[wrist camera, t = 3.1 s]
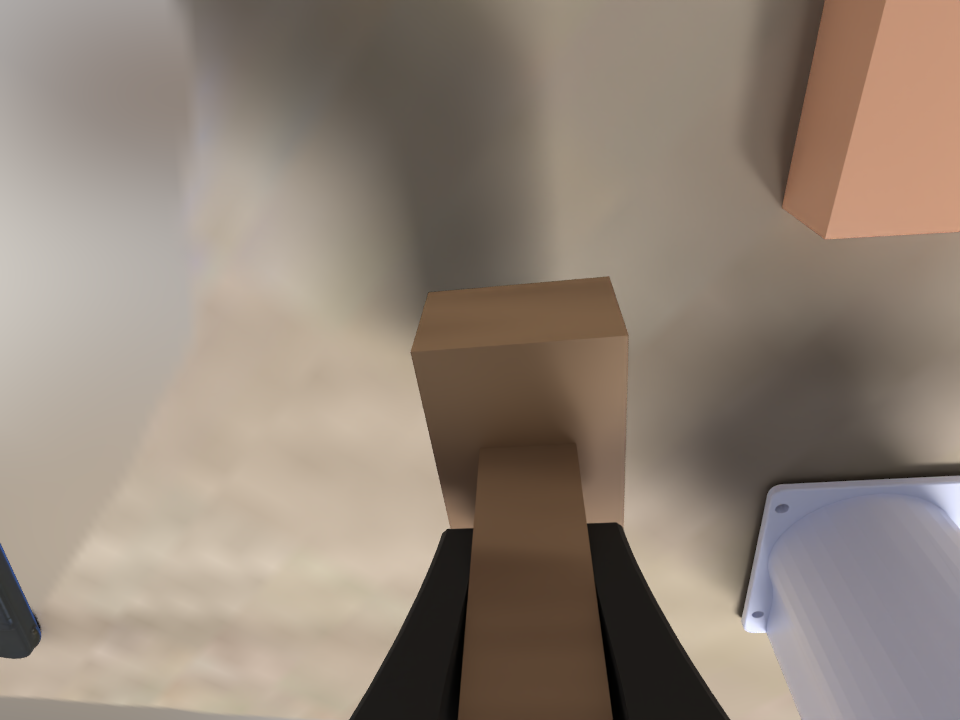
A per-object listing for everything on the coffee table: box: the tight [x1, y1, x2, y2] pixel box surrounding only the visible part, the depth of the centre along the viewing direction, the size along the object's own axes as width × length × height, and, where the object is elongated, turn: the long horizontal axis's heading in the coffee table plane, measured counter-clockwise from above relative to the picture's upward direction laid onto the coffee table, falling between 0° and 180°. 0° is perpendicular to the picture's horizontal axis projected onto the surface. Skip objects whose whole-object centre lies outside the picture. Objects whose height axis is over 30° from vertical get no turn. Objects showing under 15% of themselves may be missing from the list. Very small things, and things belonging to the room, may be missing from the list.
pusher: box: [411, 277, 629, 720], centre depth 11 cm, size 8×4×8 cm, turn 7°
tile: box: [782, 0, 960, 239], centre depth 14 cm, size 6×6×3 cm
